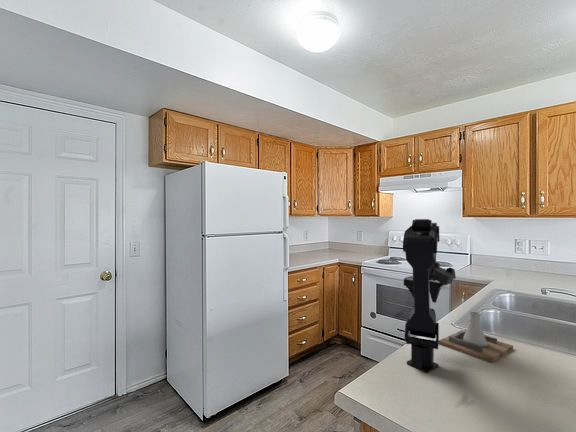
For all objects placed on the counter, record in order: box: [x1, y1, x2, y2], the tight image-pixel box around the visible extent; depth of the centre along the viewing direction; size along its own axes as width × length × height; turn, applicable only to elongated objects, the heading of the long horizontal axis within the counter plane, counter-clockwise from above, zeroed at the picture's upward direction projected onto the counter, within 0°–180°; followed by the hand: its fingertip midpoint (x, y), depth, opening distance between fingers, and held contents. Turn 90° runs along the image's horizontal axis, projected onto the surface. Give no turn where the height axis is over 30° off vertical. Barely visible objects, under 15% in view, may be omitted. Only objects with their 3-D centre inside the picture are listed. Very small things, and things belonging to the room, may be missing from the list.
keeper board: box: [439, 328, 514, 364], centre depth 100 cm, size 16×16×3 cm
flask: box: [463, 310, 488, 346], centre depth 100 cm, size 7×7×10 cm
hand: (426, 304), depth 103 cm, fingers open, 9 cm apart
